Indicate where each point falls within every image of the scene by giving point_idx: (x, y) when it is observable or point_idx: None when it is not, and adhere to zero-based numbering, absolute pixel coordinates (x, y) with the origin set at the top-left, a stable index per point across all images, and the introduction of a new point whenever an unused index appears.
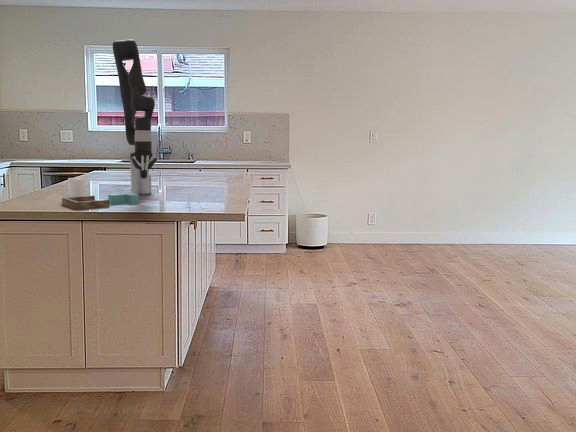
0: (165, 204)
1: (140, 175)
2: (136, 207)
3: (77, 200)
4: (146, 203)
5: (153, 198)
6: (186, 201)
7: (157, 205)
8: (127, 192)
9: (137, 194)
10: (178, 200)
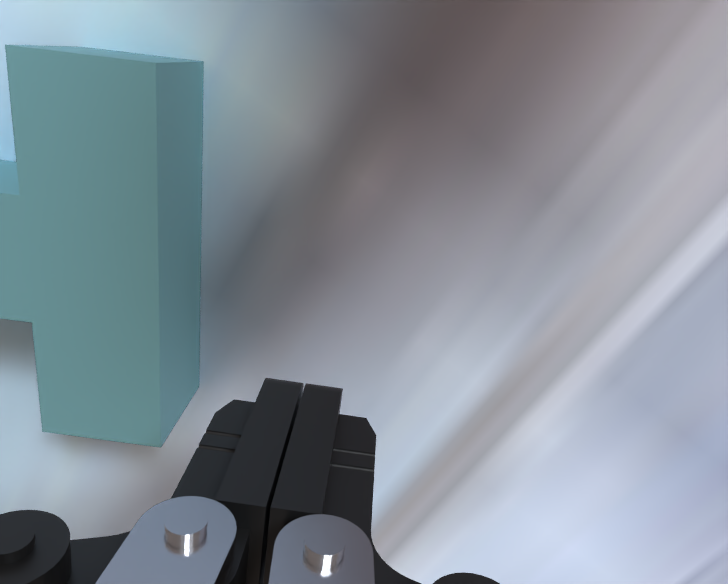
0: None
1: (212, 441)
2: None
3: None
4: None
5: (621, 98)
6: (707, 553)
7: None
8: (127, 128)
9: (158, 411)
10: (709, 450)
